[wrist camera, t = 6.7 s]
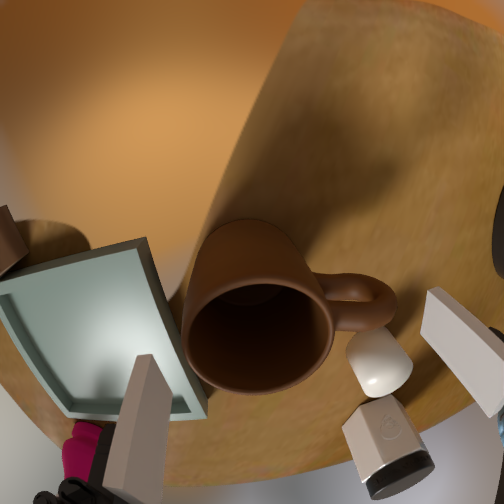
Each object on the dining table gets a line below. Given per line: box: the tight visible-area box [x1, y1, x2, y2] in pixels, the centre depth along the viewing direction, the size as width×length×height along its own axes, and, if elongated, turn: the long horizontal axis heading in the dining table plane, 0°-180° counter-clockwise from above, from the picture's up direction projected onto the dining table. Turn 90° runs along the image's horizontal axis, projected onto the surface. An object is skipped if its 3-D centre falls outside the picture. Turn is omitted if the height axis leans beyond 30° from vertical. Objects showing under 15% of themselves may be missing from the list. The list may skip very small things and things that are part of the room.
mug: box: [181, 219, 397, 395], centre depth 17 cm, size 12×8×9 cm, turn 95°
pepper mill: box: [56, 422, 103, 497], centre depth 20 cm, size 7×7×20 cm
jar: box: [342, 394, 435, 500], centre depth 25 cm, size 9×8×12 cm
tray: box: [0, 237, 208, 421], centre depth 22 cm, size 18×18×2 cm
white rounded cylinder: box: [346, 326, 413, 397], centre depth 23 cm, size 5×5×5 cm
